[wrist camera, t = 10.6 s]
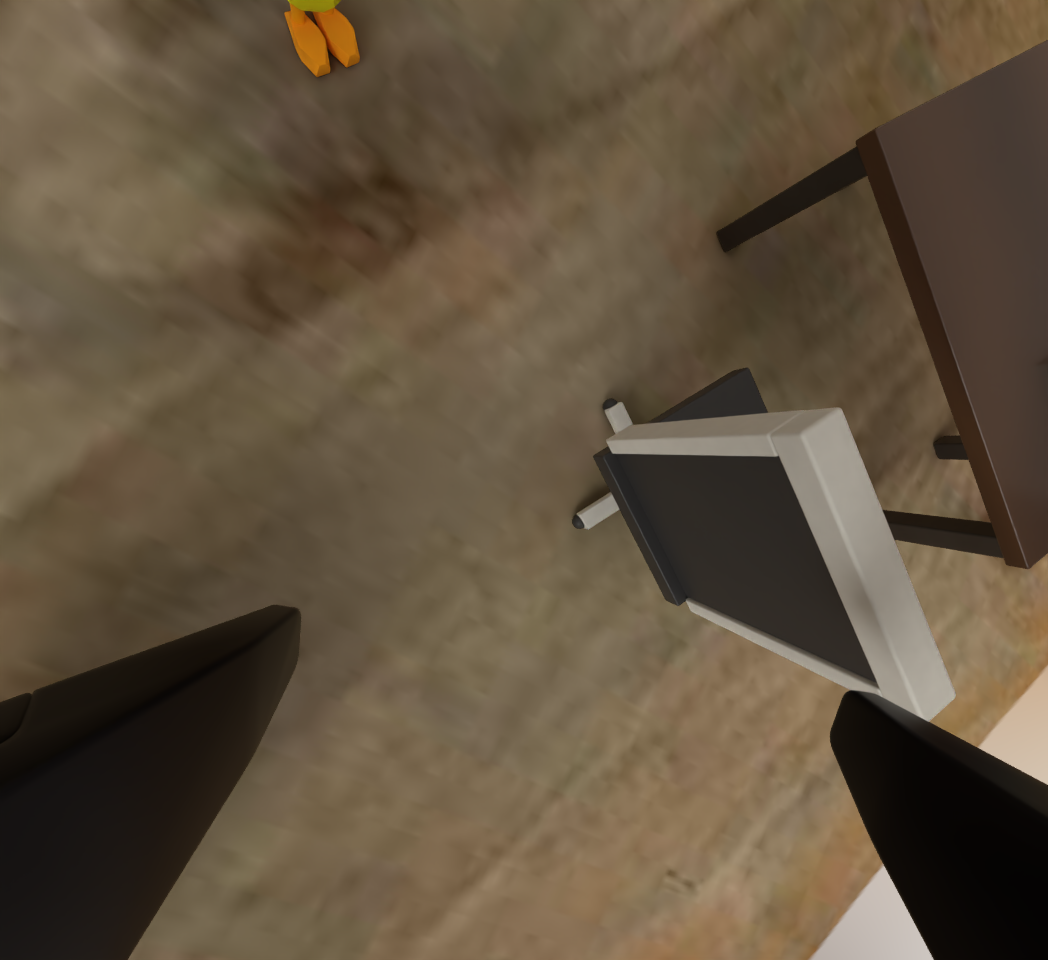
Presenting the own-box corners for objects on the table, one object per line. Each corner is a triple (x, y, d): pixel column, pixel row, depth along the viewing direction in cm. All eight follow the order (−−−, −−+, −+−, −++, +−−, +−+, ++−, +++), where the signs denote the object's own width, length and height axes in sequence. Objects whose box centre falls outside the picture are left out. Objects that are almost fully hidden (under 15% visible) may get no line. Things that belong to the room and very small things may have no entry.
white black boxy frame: (610, 599, 22) (900, 773, 10) (528, 444, 21) (751, 437, 9) (742, 508, 24) (1125, 568, 12) (674, 359, 22) (1029, 256, 10)
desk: (839, 535, 25) (1050, 573, 18) (711, 230, 22) (895, 115, 15) (952, 452, 27) (1189, 453, 19) (846, 159, 24) (1074, 23, 17)
